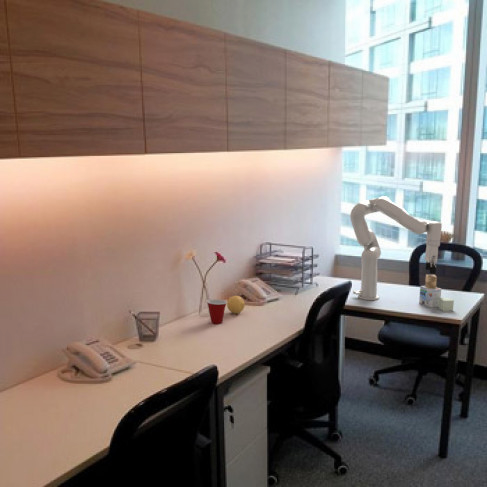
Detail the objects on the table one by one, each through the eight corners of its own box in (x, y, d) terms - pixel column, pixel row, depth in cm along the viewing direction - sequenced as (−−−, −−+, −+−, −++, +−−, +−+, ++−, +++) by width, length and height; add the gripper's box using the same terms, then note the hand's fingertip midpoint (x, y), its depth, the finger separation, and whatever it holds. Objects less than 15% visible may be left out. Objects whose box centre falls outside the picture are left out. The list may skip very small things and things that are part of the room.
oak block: (427, 288, 302) (427, 276, 301) (425, 286, 307) (425, 274, 306) (435, 288, 301) (436, 276, 300) (433, 286, 306) (434, 274, 305)
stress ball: (230, 317, 286) (243, 307, 282) (220, 302, 288) (233, 292, 285) (238, 315, 295) (251, 306, 291) (229, 301, 297) (241, 291, 294)
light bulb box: (418, 303, 309) (419, 285, 307) (427, 301, 312) (428, 284, 310) (432, 307, 300) (433, 289, 298) (440, 306, 302) (441, 288, 301)
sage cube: (442, 310, 294) (443, 300, 293) (438, 307, 300) (438, 297, 299) (453, 310, 294) (453, 300, 293) (448, 307, 300) (449, 297, 299)
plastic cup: (231, 322, 275) (231, 300, 273) (217, 327, 267) (217, 304, 265) (216, 318, 282) (216, 296, 280) (202, 322, 274) (202, 301, 272)
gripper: (422, 240, 308) (420, 267, 312) (430, 245, 291) (427, 274, 295) (435, 240, 308) (433, 268, 311) (443, 245, 291) (440, 275, 294)
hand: (430, 271), depth 303 cm, fingers open, 9 cm apart
